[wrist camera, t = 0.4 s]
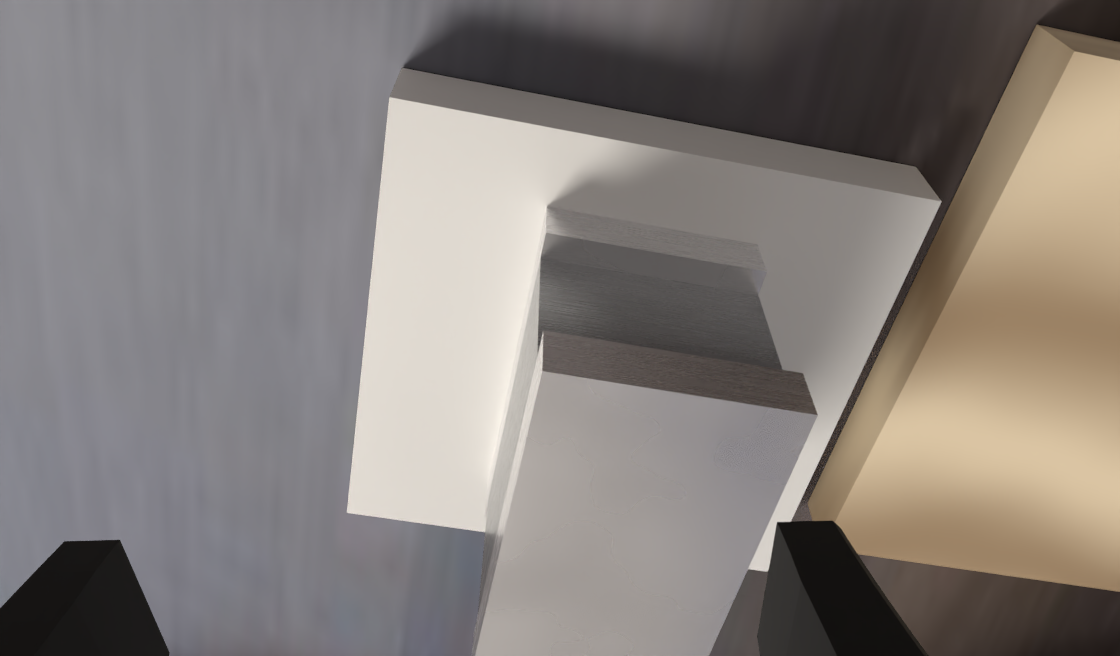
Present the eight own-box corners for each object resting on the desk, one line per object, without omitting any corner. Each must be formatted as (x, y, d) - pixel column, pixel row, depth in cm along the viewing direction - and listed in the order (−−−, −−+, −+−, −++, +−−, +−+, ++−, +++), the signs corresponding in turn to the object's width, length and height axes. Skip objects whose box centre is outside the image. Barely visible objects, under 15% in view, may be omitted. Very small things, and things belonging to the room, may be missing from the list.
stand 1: (756, 525, 24) (767, 571, 23) (358, 467, 23) (346, 512, 22) (915, 166, 18) (942, 201, 17) (401, 68, 17) (389, 96, 16)
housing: (661, 509, 22) (685, 705, 17) (487, 483, 21) (469, 679, 17) (757, 244, 18) (817, 414, 14) (546, 206, 17) (541, 371, 13)
